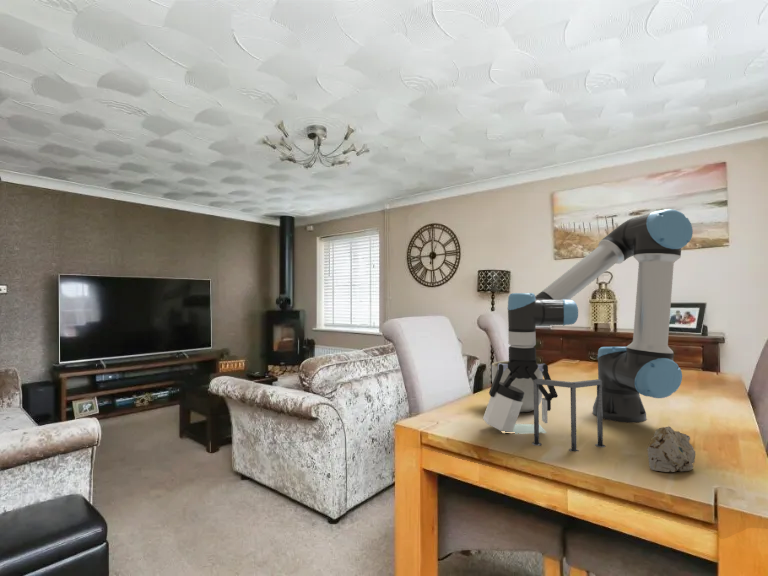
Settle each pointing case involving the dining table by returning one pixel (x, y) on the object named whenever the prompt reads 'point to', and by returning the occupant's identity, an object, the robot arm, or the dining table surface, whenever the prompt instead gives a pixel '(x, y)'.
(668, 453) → the rock
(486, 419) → the jar
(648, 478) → the dining table surface
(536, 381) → the metal railing
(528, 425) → the pad
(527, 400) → the planter
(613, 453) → the dining table surface
